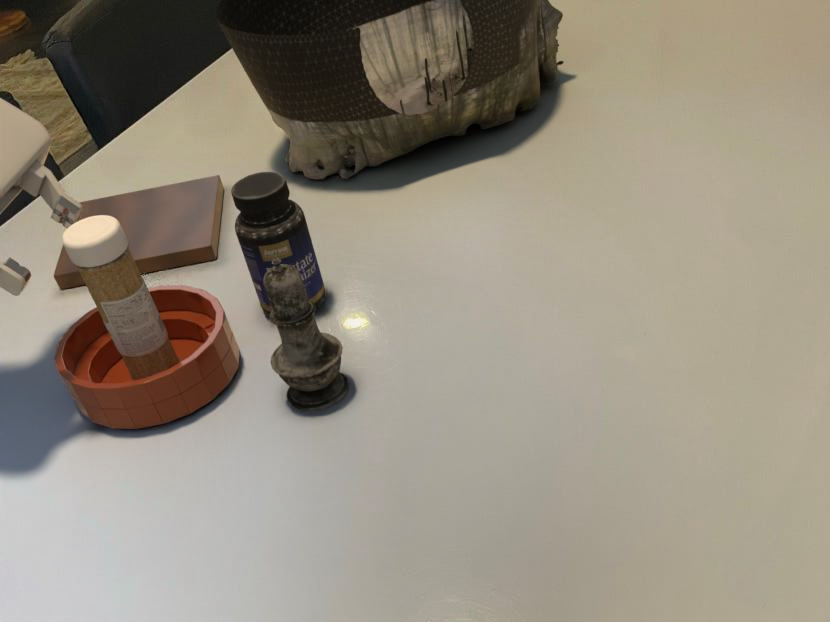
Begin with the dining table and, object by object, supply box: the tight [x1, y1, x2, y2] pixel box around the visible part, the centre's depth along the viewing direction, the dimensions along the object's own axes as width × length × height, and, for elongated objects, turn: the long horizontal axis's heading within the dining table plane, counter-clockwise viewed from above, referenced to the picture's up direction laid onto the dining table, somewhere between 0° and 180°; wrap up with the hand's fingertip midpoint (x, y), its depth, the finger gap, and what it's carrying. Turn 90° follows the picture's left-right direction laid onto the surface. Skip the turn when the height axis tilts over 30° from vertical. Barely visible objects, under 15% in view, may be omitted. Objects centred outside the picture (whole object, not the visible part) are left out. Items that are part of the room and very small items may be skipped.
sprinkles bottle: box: [61, 215, 181, 381], centre depth 78 cm, size 5×5×13 cm
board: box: [53, 174, 225, 290], centre depth 100 cm, size 16×15×2 cm
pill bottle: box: [230, 171, 327, 317], centre depth 84 cm, size 6×6×11 cm
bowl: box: [53, 284, 240, 430], centre depth 82 cm, size 14×14×4 cm
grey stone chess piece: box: [263, 257, 350, 412], centre depth 75 cm, size 6×6×12 cm
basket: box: [215, 0, 564, 180], centre depth 102 cm, size 28×35×16 cm
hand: (52, 251), depth 75 cm, fingers open, 8 cm apart
